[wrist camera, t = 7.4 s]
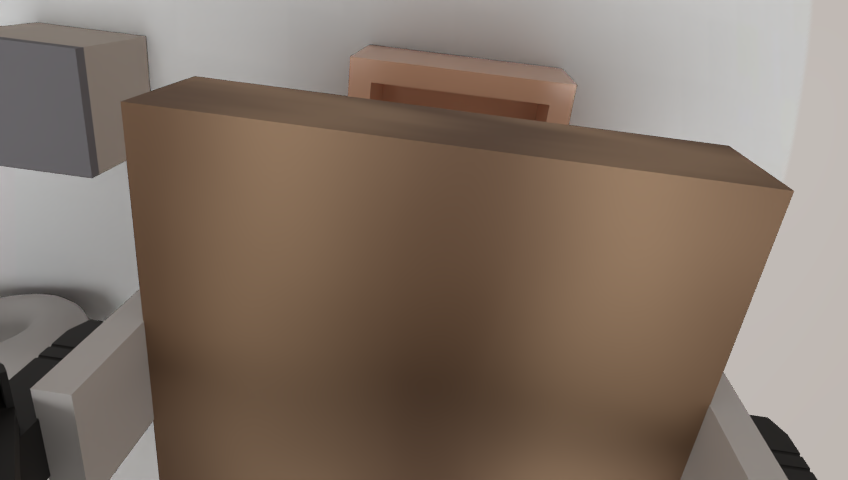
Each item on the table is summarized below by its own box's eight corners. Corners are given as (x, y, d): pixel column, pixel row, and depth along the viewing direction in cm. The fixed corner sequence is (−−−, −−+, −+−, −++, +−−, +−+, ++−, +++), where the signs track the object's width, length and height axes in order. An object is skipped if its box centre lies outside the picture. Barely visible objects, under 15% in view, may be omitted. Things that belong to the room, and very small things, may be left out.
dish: (357, 221, 35) (339, 258, 30) (369, 44, 31) (350, 56, 26) (527, 244, 34) (534, 285, 30) (562, 68, 30) (577, 84, 26)
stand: (53, 132, 34) (-29, 162, 29) (36, 22, 32) (-57, 32, 26) (154, 145, 34) (92, 178, 28) (145, 36, 31) (75, 48, 26)
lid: (214, 469, 18) (167, 554, 16) (194, 76, 13) (120, 101, 11) (601, 530, 18) (621, 630, 15) (729, 145, 13) (794, 191, 10)
